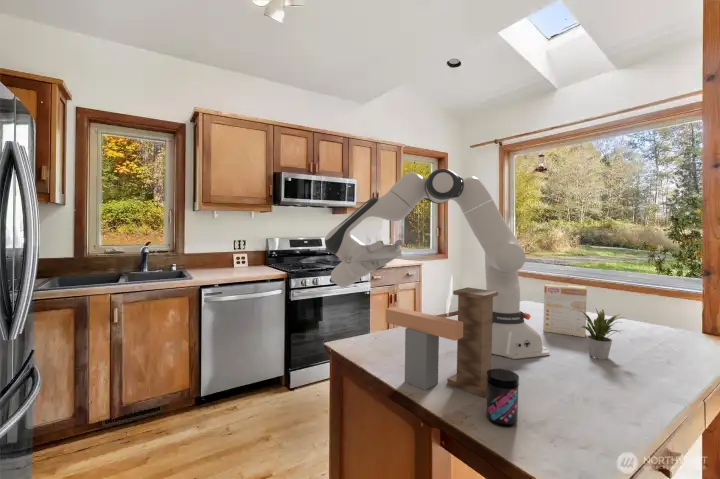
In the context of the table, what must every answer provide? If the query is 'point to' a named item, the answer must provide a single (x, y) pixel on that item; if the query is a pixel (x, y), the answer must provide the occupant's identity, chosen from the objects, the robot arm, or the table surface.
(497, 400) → the supplement container
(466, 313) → the walnut tower
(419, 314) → the terracotta beam
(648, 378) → the table surface
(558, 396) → the table surface
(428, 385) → the slate pillar
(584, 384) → the table surface
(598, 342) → the house plant
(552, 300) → the coffeecake box
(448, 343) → the table surface
